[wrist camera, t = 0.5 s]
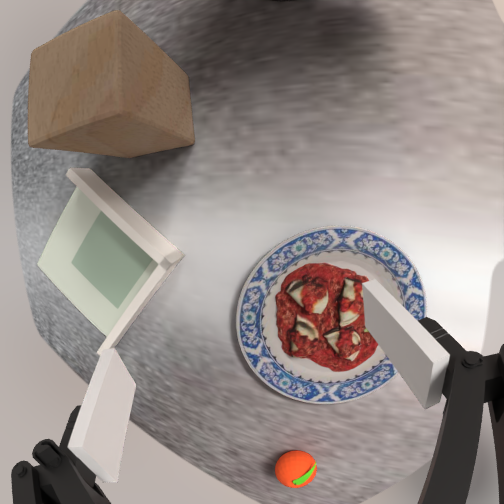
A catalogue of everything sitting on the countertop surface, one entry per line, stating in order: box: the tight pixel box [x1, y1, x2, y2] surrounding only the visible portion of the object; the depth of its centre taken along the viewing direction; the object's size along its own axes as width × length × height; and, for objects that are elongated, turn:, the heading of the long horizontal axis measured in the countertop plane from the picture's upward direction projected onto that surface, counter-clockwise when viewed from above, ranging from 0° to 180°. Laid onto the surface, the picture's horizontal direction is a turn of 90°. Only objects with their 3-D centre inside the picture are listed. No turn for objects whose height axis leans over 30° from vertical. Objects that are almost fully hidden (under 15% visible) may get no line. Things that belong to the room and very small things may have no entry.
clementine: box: [275, 450, 317, 488], centre depth 44 cm, size 8×7×7 cm
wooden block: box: [28, 10, 195, 158], centre depth 30 cm, size 10×10×20 cm
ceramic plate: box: [236, 226, 427, 404], centre depth 41 cm, size 26×26×3 cm
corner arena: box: [37, 168, 184, 356], centre depth 42 cm, size 19×19×5 cm
